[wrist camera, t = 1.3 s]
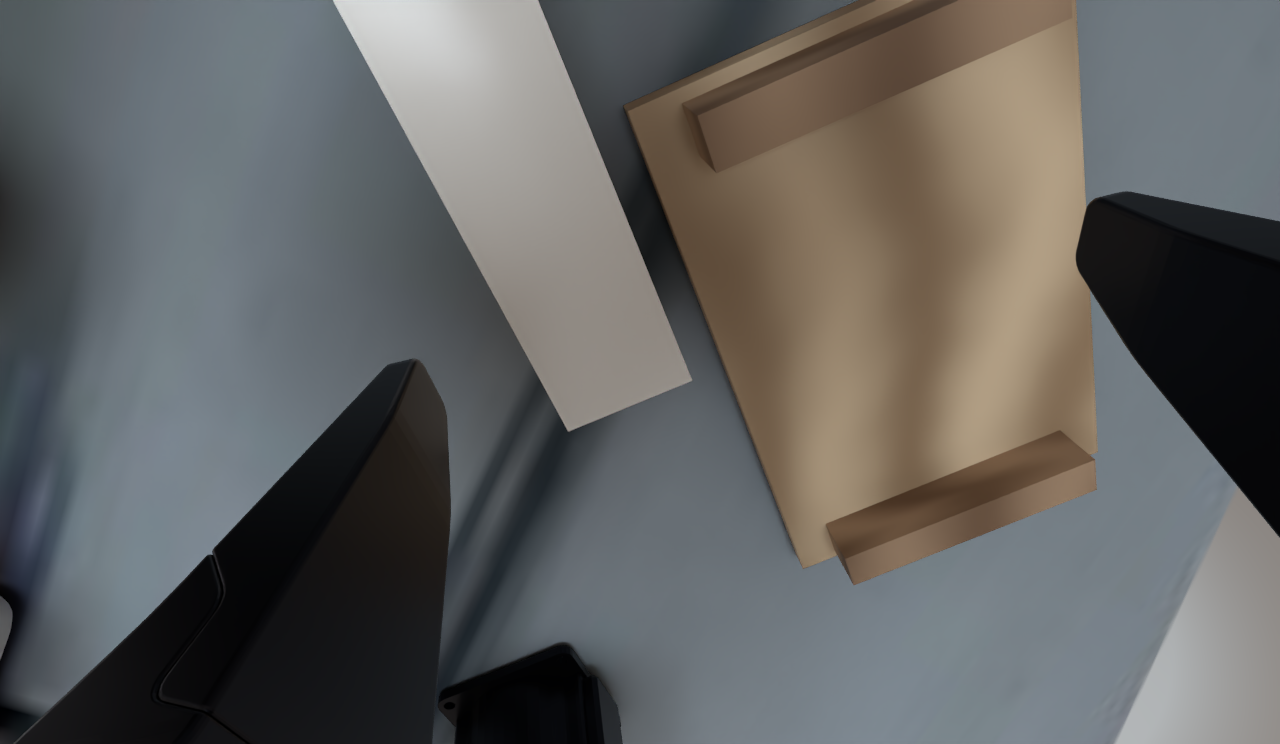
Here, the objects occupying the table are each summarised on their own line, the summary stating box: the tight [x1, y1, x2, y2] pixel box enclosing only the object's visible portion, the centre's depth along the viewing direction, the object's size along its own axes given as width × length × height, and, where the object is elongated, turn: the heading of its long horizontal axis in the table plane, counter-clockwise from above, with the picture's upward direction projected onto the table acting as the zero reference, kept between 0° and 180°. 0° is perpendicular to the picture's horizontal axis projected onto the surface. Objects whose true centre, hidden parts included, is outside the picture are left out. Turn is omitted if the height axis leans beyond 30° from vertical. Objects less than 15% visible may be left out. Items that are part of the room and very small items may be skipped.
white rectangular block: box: [333, 0, 692, 432], centre depth 18 cm, size 4×14×6 cm, turn 21°
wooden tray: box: [623, 0, 1098, 585], centre depth 24 cm, size 13×20×3 cm, turn 22°
